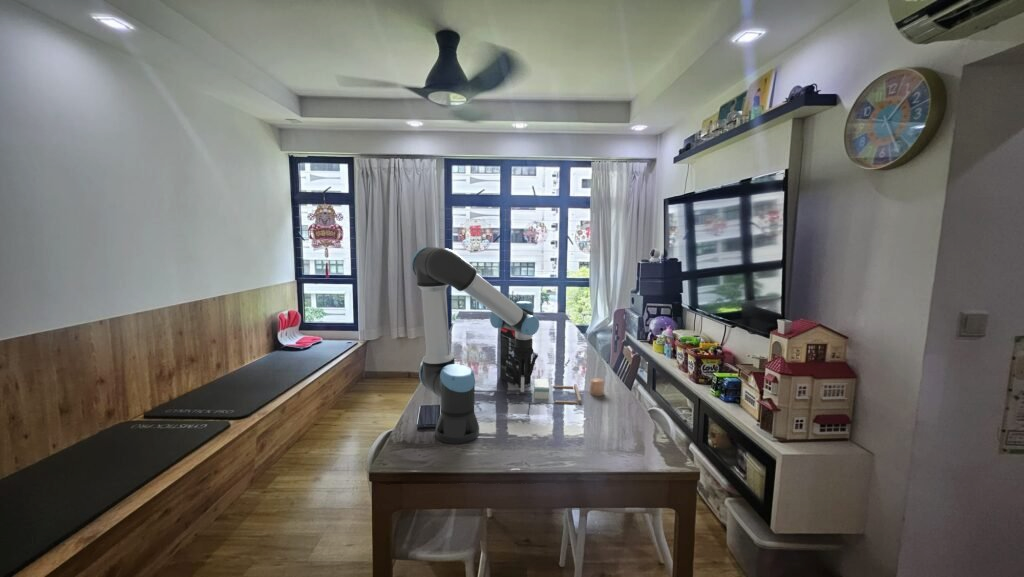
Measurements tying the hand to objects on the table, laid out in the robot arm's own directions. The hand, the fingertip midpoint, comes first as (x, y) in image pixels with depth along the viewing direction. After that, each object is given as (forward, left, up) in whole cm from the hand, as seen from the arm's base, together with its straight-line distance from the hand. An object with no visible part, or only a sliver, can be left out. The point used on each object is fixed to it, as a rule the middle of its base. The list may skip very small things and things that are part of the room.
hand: (522, 390), depth 178 cm
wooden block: (+7, -33, -3) cm, 34 cm away
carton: (0, -8, -1) cm, 8 cm away
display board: (0, -14, -3) cm, 14 cm away
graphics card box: (+14, +4, -3) cm, 15 cm away
